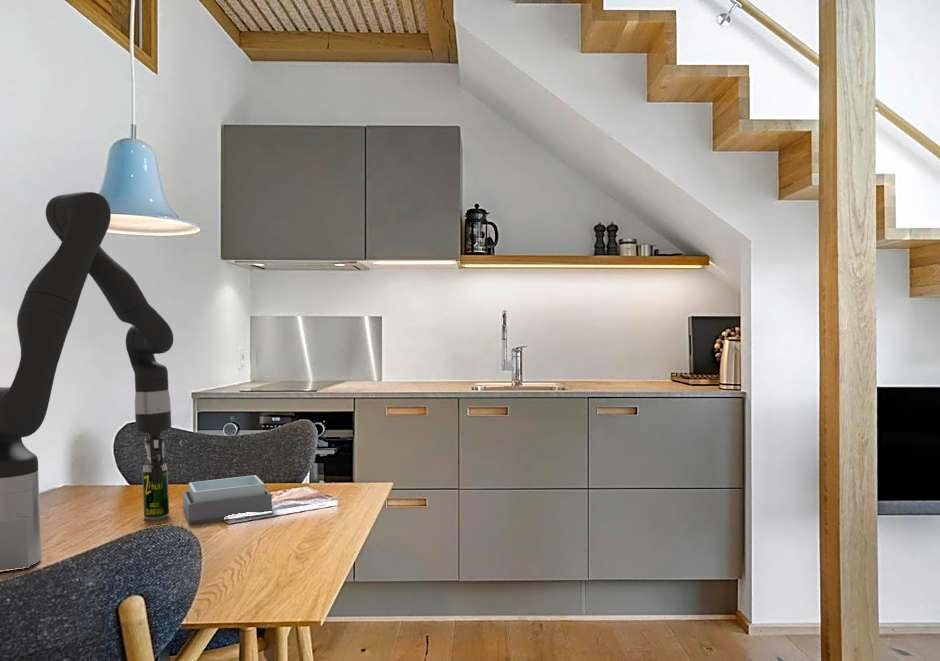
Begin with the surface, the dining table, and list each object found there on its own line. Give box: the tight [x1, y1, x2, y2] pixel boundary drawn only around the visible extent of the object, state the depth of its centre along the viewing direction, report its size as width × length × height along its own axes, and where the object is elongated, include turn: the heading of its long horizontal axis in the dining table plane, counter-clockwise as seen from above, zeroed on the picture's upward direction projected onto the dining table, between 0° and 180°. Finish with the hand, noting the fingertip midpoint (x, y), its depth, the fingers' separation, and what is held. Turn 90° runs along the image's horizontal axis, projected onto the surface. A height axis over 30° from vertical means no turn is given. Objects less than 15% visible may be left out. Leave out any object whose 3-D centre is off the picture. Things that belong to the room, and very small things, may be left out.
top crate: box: [188, 474, 266, 504], centre depth 175 cm, size 11×15×6 cm
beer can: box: [141, 462, 170, 521], centre depth 172 cm, size 5×5×12 cm
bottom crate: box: [182, 487, 273, 526], centre depth 175 cm, size 14×18×4 cm
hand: (156, 480), depth 173 cm, fingers open, 8 cm apart
